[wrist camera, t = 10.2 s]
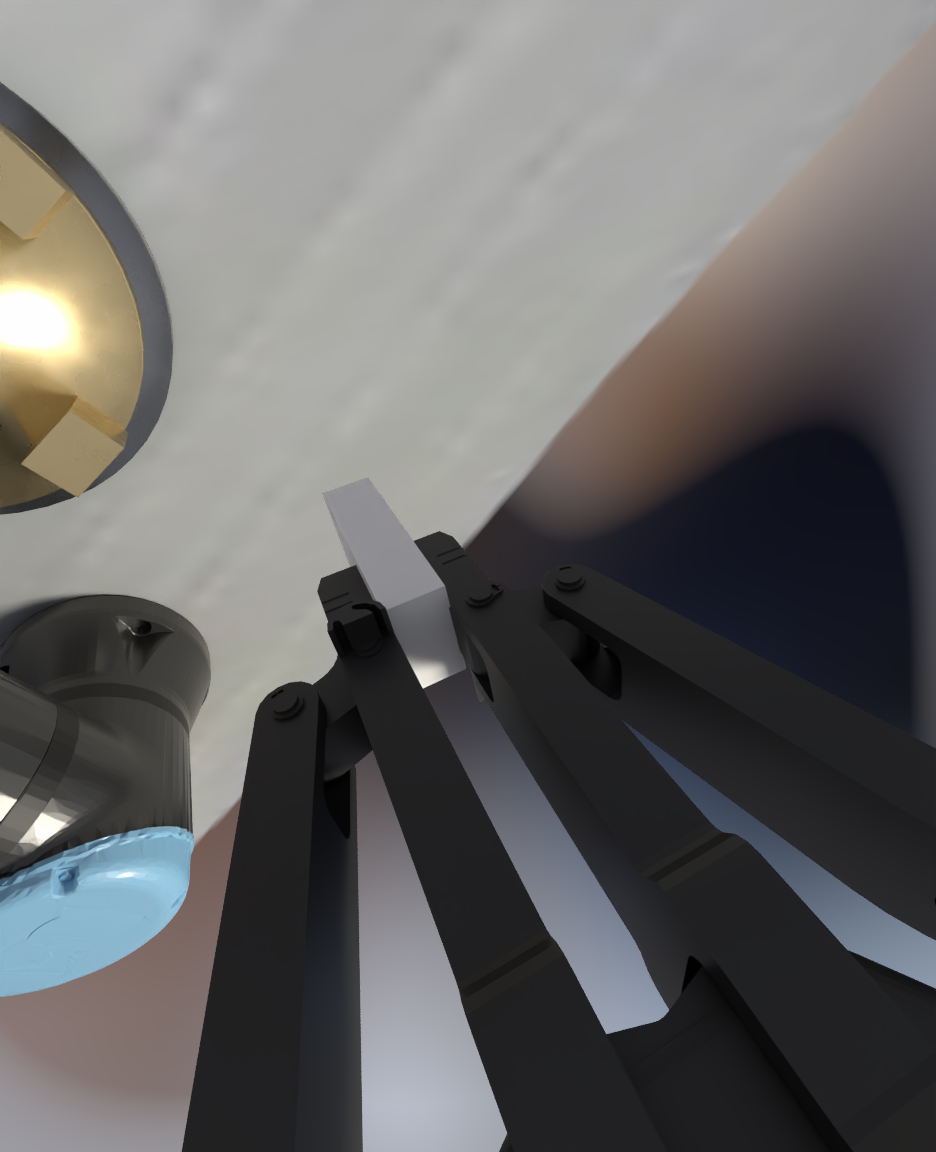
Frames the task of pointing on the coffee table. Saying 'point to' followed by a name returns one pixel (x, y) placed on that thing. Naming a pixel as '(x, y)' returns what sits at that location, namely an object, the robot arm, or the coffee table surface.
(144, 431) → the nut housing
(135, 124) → the coffee table surface
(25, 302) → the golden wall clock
